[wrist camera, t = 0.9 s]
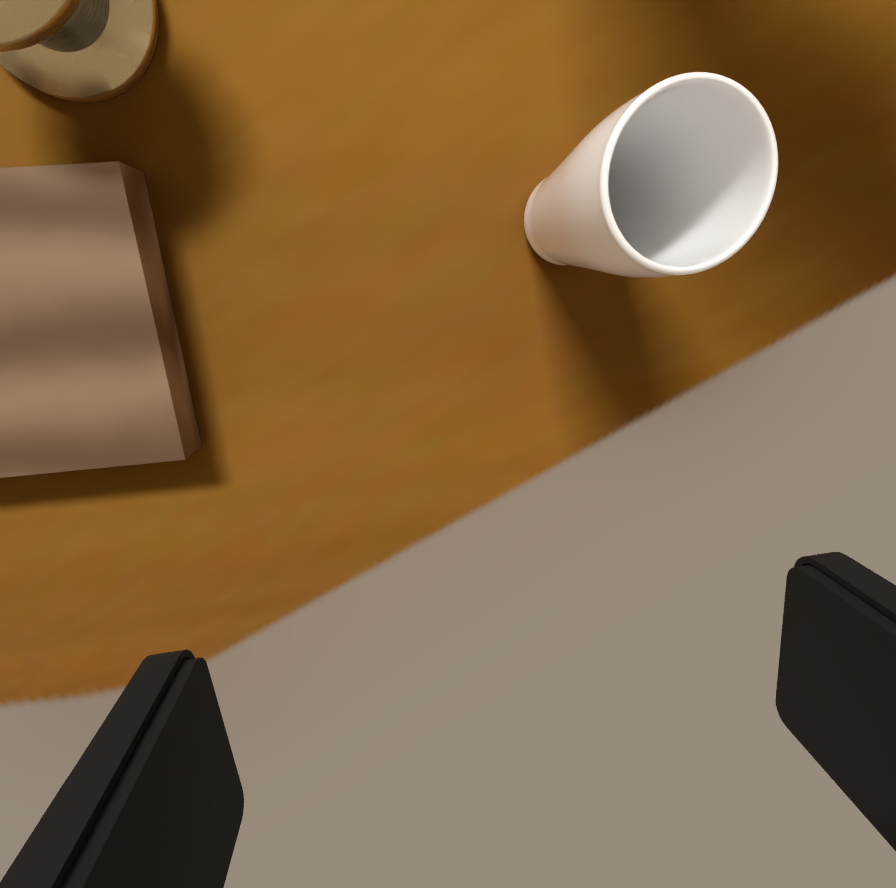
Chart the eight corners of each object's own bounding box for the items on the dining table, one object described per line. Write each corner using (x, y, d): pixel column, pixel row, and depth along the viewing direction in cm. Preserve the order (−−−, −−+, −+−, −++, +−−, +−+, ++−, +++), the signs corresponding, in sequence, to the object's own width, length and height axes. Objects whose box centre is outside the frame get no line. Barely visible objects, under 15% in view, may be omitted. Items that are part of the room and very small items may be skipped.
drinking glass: (565, 300, 35) (684, 315, 21) (487, 225, 33) (559, 186, 19) (639, 214, 34) (819, 168, 20) (563, 132, 32) (699, 17, 18)
